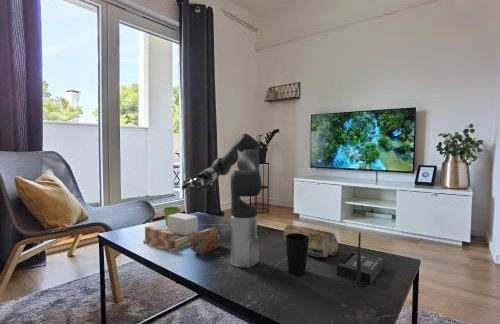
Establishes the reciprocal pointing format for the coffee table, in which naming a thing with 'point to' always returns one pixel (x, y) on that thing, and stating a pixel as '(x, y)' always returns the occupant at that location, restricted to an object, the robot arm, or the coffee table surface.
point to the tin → (206, 240)
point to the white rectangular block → (183, 223)
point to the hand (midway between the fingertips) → (189, 189)
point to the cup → (297, 253)
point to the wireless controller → (360, 266)
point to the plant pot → (170, 212)
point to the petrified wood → (315, 240)
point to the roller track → (178, 242)
